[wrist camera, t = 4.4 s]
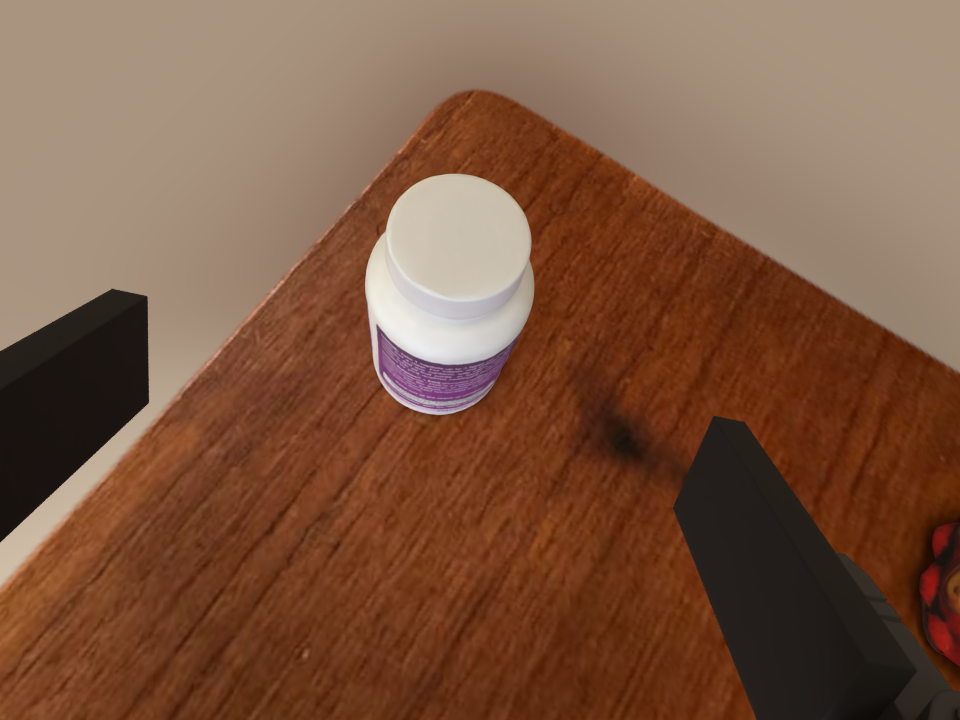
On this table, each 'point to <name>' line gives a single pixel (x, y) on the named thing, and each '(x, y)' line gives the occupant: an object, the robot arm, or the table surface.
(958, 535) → the red clay folk toy
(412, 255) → the pill bottle
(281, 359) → the table surface
